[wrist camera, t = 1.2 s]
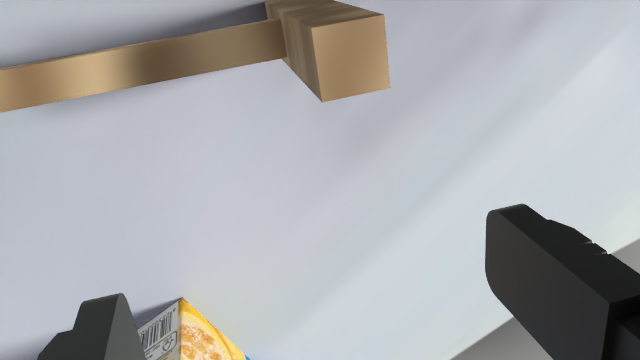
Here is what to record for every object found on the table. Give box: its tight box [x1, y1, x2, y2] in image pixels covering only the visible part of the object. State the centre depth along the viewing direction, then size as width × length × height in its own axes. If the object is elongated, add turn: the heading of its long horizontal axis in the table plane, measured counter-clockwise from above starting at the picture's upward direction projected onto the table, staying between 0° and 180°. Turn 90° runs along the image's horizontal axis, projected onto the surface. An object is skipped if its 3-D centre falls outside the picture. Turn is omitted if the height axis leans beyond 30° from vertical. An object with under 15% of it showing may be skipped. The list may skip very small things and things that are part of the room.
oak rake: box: [0, 0, 390, 113], centre depth 25 cm, size 28×5×14 cm, turn 99°
